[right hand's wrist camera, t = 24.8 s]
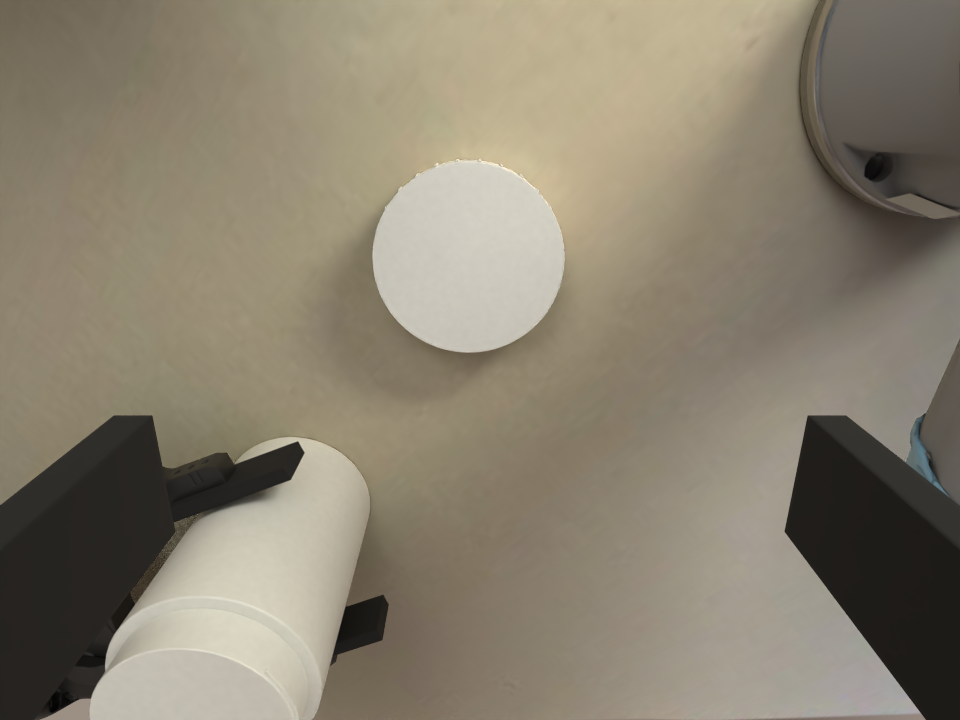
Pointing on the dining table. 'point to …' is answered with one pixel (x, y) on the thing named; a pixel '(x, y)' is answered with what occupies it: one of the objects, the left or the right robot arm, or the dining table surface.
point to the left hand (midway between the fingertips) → (341, 542)
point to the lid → (468, 256)
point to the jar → (245, 603)
